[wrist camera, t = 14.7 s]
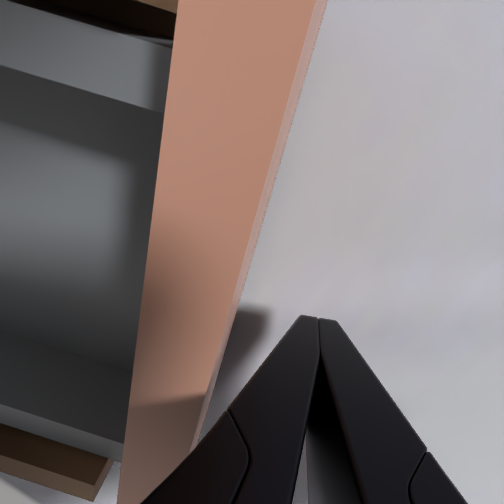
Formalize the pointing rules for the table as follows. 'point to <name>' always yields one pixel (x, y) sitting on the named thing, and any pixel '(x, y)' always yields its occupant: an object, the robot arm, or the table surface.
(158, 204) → the tray
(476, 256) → the table surface
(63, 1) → the brown wooden box
